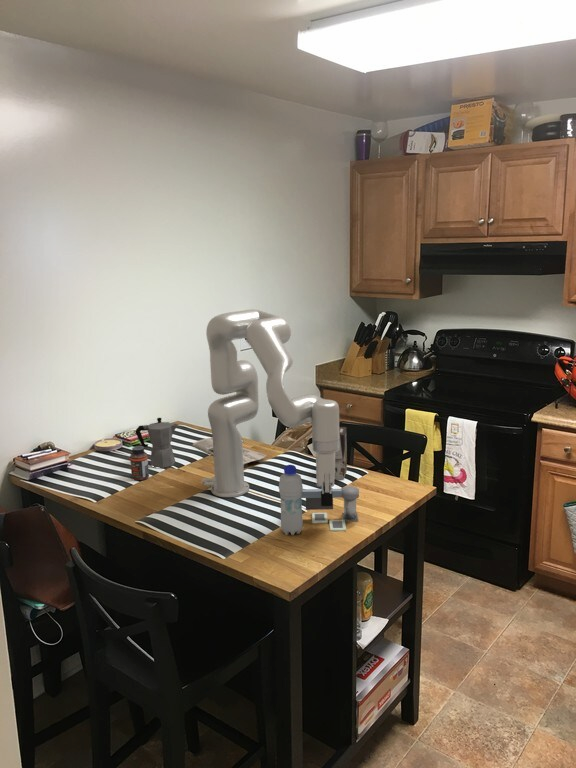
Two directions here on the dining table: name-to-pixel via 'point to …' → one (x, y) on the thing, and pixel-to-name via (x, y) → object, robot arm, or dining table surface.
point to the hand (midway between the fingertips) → (326, 504)
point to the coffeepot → (159, 442)
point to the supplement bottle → (139, 463)
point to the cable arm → (346, 492)
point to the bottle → (291, 500)
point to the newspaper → (248, 454)
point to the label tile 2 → (337, 525)
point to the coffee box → (341, 455)
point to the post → (350, 510)
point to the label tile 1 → (319, 518)
